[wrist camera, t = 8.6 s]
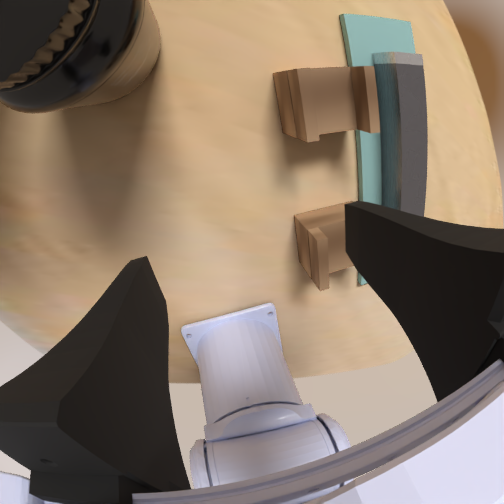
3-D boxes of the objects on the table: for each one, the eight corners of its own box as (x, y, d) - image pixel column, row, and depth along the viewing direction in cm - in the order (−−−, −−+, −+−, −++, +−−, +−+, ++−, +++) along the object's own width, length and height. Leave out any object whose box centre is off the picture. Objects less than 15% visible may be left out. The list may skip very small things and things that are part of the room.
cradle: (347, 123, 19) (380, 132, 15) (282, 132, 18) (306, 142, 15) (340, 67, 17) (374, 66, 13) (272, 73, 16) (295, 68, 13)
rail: (401, 243, 24) (418, 258, 22) (379, 251, 24) (395, 266, 22) (399, 55, 16) (422, 54, 14) (371, 53, 16) (393, 51, 14)
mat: (408, 263, 27) (412, 266, 26) (357, 281, 26) (361, 285, 26) (405, 22, 15) (410, 22, 15) (339, 15, 15) (343, 13, 14)
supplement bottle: (131, -16, 11) (83, -124, 1) (181, 62, 15) (181, 5, 5) (39, 48, 12) (-90, 31, 1) (86, 126, 15) (-31, 182, 5)
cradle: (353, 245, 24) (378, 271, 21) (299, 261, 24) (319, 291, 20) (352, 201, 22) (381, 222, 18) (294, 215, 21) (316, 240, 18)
